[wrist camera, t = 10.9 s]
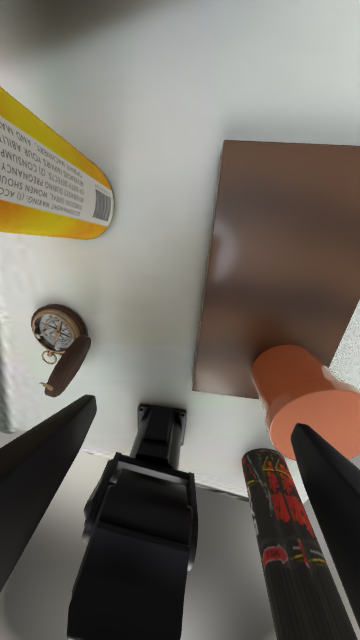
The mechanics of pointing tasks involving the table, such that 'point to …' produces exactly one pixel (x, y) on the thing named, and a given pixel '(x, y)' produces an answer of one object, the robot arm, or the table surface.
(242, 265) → the walnut board
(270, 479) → the deodorant
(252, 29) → the table surface
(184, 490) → the robot arm
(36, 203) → the beer can
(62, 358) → the compass
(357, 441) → the terracotta pot
